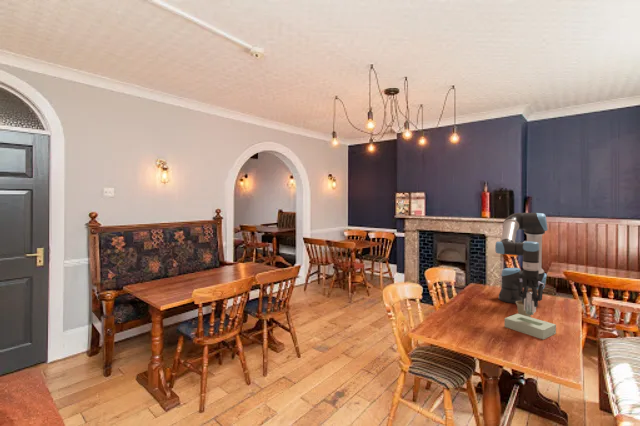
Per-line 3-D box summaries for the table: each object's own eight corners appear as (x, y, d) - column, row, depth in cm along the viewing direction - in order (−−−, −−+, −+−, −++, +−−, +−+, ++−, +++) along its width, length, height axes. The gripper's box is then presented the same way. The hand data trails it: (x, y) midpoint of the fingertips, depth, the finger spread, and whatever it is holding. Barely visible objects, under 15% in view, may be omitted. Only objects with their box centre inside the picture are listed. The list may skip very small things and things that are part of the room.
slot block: (517, 321, 191) (517, 313, 190) (555, 333, 174) (556, 324, 173) (504, 326, 183) (504, 318, 183) (543, 339, 166) (543, 330, 166)
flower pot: (513, 316, 198) (514, 303, 198) (517, 312, 205) (517, 299, 205) (531, 320, 192) (531, 306, 192) (534, 316, 199) (534, 302, 198)
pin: (527, 312, 180) (528, 291, 180) (534, 314, 177) (535, 292, 177) (524, 313, 178) (524, 292, 178) (531, 315, 175) (531, 293, 175)
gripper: (511, 267, 182) (510, 308, 183) (544, 273, 168) (543, 316, 169) (518, 266, 186) (517, 305, 187) (550, 271, 172) (549, 314, 173)
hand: (529, 310), depth 178 cm, fingers closed on pin, 3 cm apart
